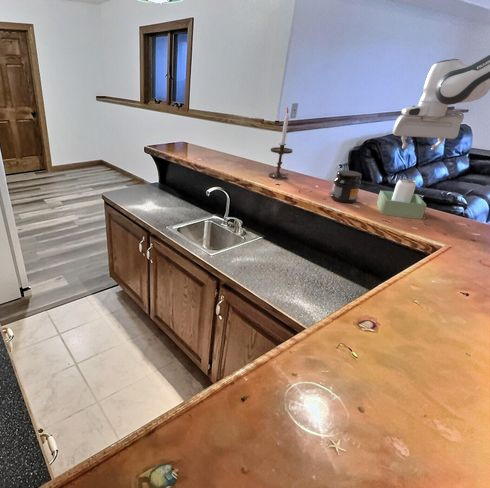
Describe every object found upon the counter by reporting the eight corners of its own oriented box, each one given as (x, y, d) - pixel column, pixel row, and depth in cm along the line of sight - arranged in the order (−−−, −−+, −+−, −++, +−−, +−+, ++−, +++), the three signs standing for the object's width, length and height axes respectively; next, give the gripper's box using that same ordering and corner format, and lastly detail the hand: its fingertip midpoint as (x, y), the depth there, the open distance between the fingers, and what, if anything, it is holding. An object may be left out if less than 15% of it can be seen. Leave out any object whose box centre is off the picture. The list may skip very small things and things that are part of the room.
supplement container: (361, 201, 152) (368, 174, 147) (344, 205, 148) (351, 177, 143) (341, 194, 161) (347, 169, 155) (324, 197, 157) (330, 171, 151)
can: (391, 210, 140) (401, 181, 135) (386, 205, 146) (395, 177, 140) (409, 212, 139) (420, 183, 133) (403, 206, 144) (413, 178, 139)
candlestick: (263, 174, 191) (272, 106, 175) (280, 173, 193) (291, 105, 178) (273, 180, 181) (284, 108, 166) (291, 178, 184) (304, 107, 168)
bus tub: (412, 207, 146) (417, 194, 144) (421, 219, 135) (426, 204, 132) (376, 203, 150) (380, 190, 148) (381, 214, 139) (386, 200, 136)
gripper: (462, 110, 125) (448, 149, 131) (397, 108, 131) (387, 146, 137) (469, 112, 120) (454, 153, 126) (401, 110, 126) (390, 149, 132)
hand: (418, 149), depth 132 cm, fingers open, 8 cm apart
